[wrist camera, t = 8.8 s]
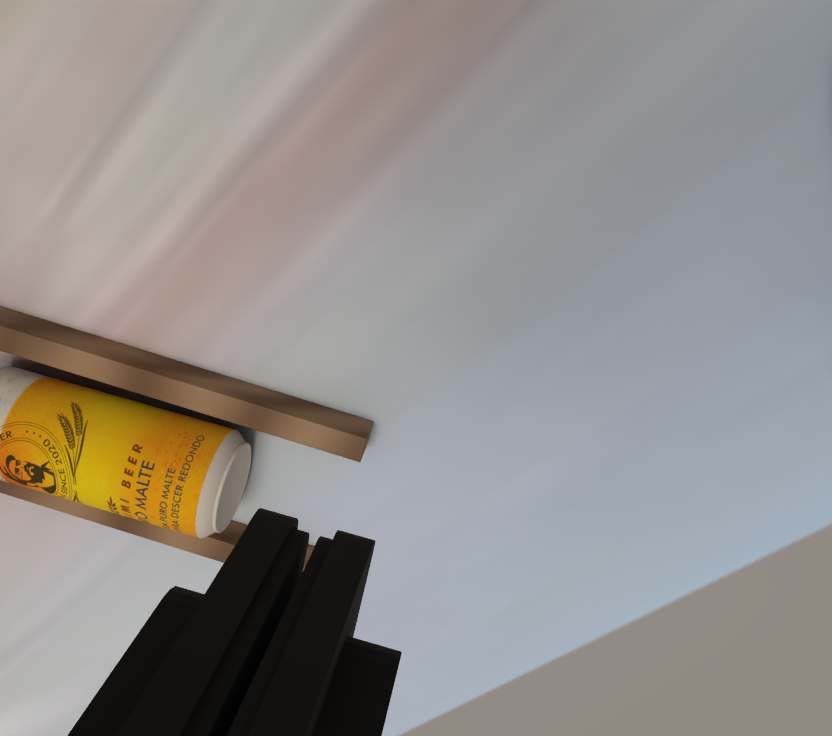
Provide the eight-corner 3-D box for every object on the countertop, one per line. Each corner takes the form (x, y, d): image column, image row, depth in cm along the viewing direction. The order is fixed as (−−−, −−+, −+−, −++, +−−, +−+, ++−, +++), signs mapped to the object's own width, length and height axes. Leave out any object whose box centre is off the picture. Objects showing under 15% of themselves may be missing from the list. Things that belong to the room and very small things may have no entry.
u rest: (373, 421, 42) (358, 458, 38) (331, 572, 46) (314, 617, 43) (-61, 287, 42) (-116, 310, 39) (-60, 449, 47) (-110, 483, 43)
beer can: (208, 566, 40) (-55, 489, 41) (249, 493, 45) (15, 426, 46) (215, 480, 37) (-70, 398, 38) (259, 413, 42) (8, 342, 43)
